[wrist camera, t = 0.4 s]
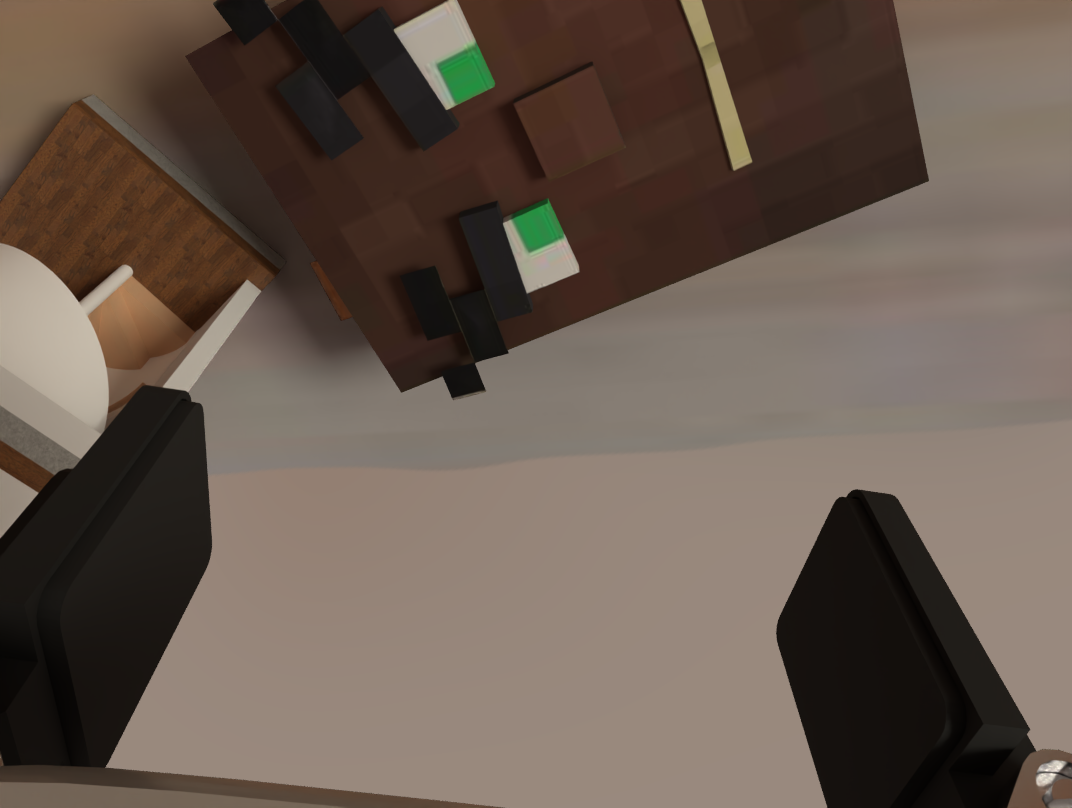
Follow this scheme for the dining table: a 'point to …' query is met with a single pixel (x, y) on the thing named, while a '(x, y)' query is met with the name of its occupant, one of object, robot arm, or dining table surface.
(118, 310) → the white tower
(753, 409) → the dining table surface
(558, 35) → the decorative book
